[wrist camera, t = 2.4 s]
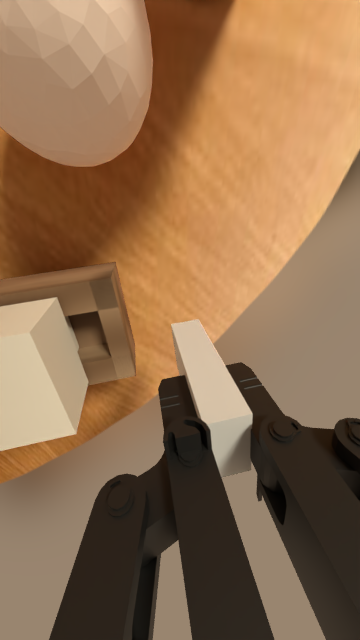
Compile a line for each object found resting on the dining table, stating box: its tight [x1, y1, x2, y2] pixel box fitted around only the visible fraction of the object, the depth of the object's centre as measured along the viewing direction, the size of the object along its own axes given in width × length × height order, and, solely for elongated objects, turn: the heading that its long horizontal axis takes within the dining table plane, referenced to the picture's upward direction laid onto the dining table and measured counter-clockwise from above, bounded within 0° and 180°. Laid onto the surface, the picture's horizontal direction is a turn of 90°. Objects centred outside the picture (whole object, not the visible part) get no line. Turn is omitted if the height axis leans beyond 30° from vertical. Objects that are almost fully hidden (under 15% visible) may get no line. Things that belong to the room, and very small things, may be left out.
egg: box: [0, 0, 153, 167], centre depth 10 cm, size 8×8×11 cm
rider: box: [0, 297, 88, 451], centre depth 13 cm, size 6×6×6 cm
